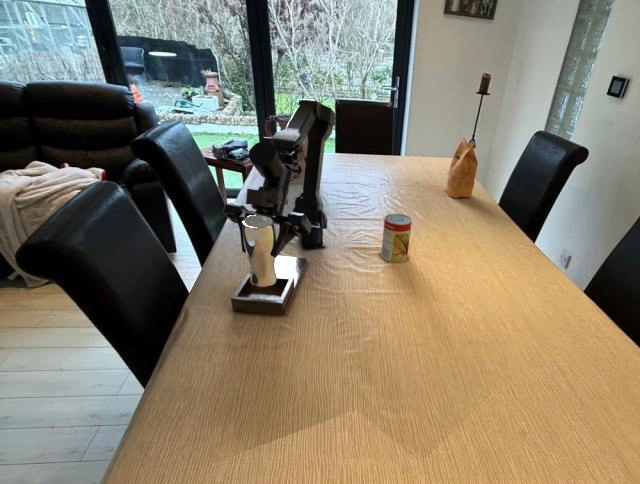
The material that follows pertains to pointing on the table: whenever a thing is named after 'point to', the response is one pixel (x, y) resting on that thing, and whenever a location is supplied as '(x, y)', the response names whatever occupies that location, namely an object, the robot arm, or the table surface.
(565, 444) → the table surface
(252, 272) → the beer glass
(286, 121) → the ceramic pitcher
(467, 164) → the coffee package
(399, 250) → the canned food
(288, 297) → the dark rectangular tray
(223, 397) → the table surface
